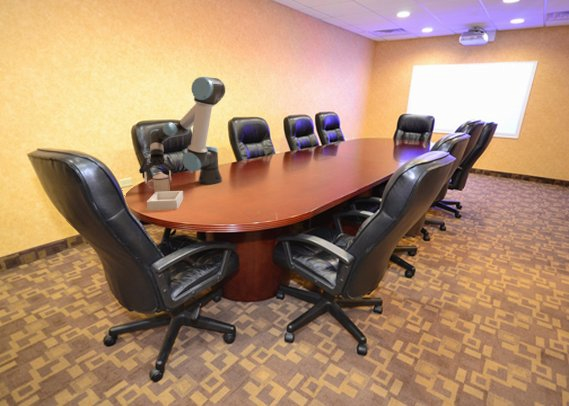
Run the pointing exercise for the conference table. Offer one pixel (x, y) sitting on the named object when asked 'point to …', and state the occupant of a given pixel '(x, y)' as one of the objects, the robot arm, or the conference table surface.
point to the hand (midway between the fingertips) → (158, 181)
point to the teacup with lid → (160, 182)
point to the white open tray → (165, 200)
